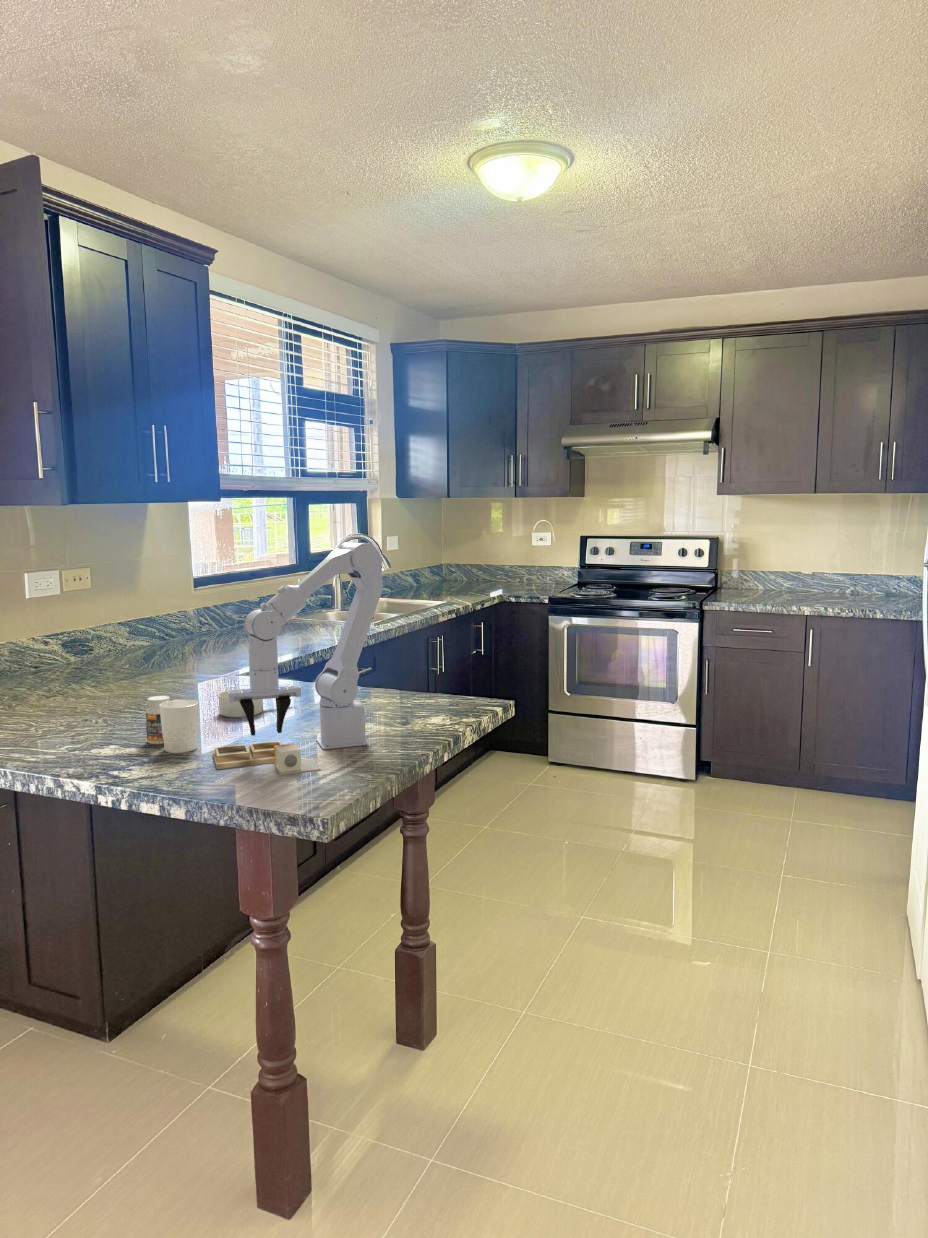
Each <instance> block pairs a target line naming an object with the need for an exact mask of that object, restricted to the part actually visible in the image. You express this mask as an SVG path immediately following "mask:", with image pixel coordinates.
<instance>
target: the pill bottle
mask: <svg viewBox="0 0 928 1238" xmlns="http://www.w3.org/2000/svg"><path fill="white" fill-rule="evenodd" d="M167 701H171V697H170V696H168V695H155V696H150V697H147V705H148V707H147V708H146V710H145V725H146V726H145V727H146V742H147V743H148V744H151V745H164V739H163V735H162V727H161V718H160V708H159V705H160V704H161V703H164V702H167Z"/></svg>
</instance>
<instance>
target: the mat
mask: <svg viewBox="0 0 928 1238" xmlns="http://www.w3.org/2000/svg"><path fill="white" fill-rule="evenodd" d="M273 766H274V767H275V769H276V770H277V773H278V775H279V776H285V775H286V776H287V775H294V774H300V773H310V772H317V771H318V772H319V771H322V768H321V767H320V765H319V764H318V763H317V761H316V759H315V758H314V757H311V758H303V759H302V758H301V769H300V770H293V771H286V772H280V771H279V770H278V768H277V767H276V766H275V762H273Z"/></svg>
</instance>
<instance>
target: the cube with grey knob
mask: <svg viewBox="0 0 928 1238" xmlns="http://www.w3.org/2000/svg"><path fill="white" fill-rule="evenodd" d="M301 755H302V753H301V749H300V747H299V746H297V745H296V744H295V743H285V744H282V745H276V746H274V760H275V765H274V767H275V766H276V767H277V768H278V770H279V771H280V772H286V771H293V770H300V769H301V759H302V758H301ZM276 767H275V768H276Z"/></svg>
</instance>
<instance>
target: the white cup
mask: <svg viewBox="0 0 928 1238" xmlns="http://www.w3.org/2000/svg"><path fill="white" fill-rule="evenodd" d="M159 708H160V718H161V727H162V735H163V739H164V744H163V748H164V751H165V752H167V753H171V754H182V753H188V752H192V751H195V750H196V749H197V748H198V736H199V701H197V700H194V699H175V700H174V699H173V700H170V701H167V702H164V703H161V704H160V705H159Z"/></svg>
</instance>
